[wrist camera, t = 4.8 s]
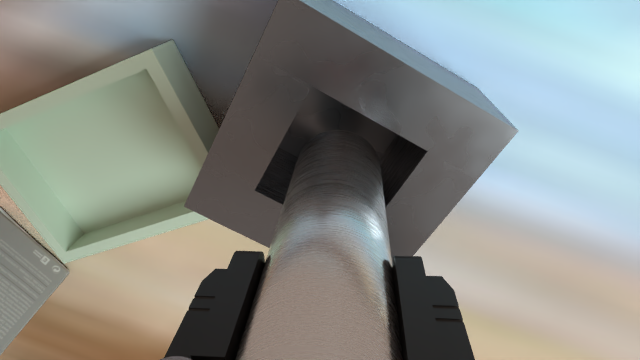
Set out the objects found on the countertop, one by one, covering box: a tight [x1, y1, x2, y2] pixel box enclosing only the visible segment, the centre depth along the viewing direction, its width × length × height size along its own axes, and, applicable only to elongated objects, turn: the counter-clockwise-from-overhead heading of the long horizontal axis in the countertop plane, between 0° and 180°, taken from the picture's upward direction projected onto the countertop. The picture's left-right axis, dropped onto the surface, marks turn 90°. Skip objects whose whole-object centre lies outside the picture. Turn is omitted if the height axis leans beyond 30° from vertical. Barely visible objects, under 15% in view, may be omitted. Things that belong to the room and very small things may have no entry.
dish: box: [0, 40, 219, 263], centre depth 23 cm, size 12×9×2 cm
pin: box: [235, 130, 403, 360], centre depth 12 cm, size 5×5×14 cm
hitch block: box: [184, 0, 518, 263], centre depth 20 cm, size 10×10×6 cm
